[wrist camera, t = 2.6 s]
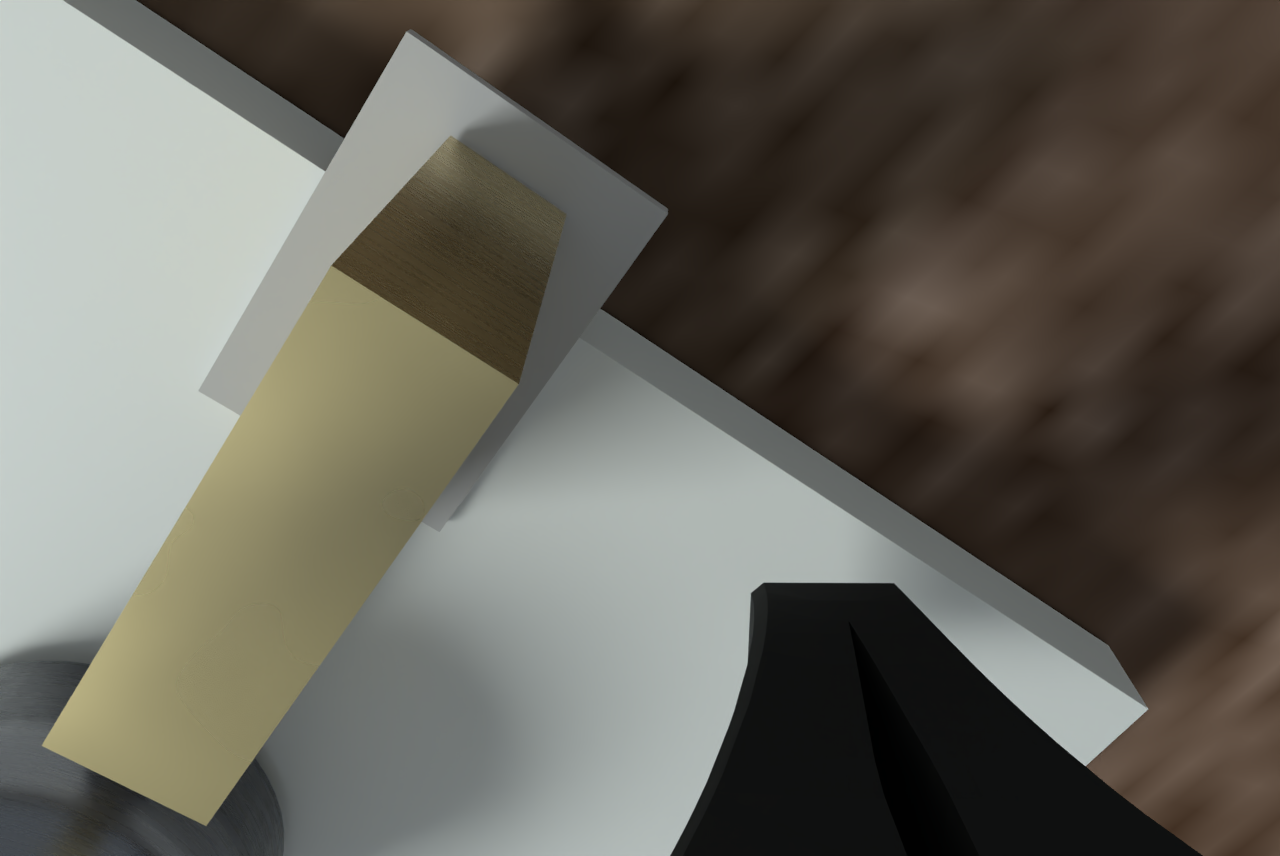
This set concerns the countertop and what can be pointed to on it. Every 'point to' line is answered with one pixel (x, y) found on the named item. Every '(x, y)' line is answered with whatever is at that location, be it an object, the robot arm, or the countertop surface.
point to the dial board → (476, 495)
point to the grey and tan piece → (285, 532)
